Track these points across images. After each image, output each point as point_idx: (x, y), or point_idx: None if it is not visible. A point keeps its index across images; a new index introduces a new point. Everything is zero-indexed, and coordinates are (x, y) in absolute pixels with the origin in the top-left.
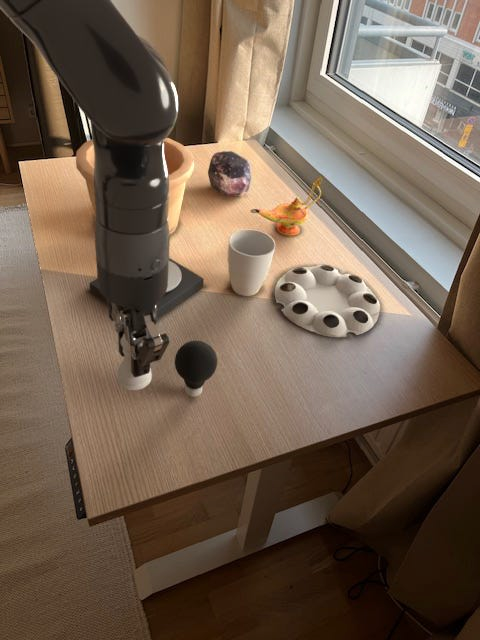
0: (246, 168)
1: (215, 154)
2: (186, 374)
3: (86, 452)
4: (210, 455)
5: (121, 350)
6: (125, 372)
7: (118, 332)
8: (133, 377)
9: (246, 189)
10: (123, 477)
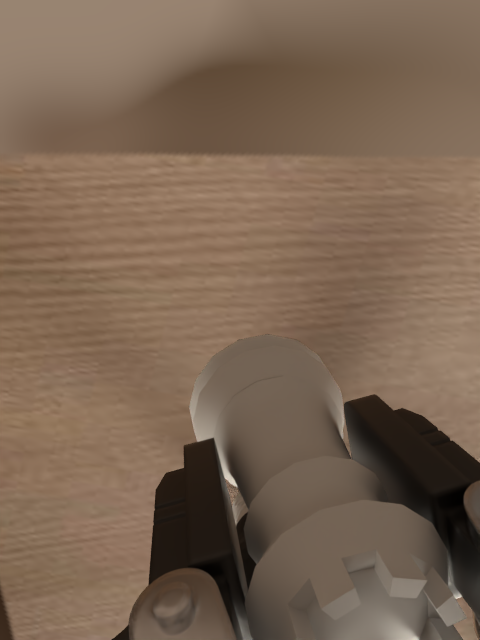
0: None
1: None
2: None
3: (124, 172)
4: (41, 501)
5: (365, 423)
6: (247, 397)
7: (473, 511)
8: (217, 423)
9: None
10: (12, 265)
